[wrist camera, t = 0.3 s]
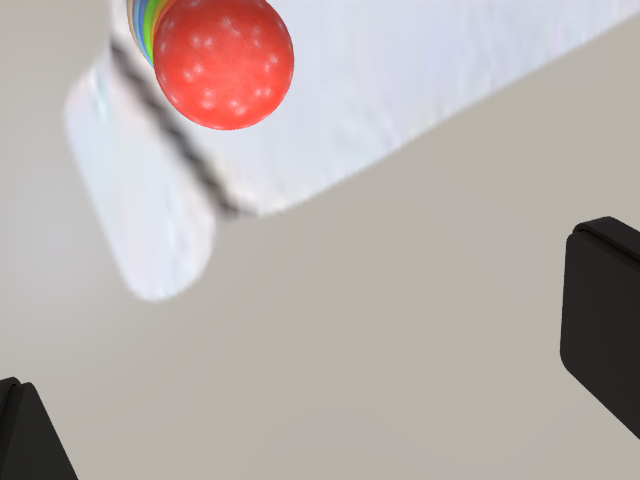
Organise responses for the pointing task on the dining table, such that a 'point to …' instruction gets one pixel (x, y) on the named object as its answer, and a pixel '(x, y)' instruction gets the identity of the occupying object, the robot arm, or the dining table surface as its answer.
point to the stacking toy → (216, 57)
